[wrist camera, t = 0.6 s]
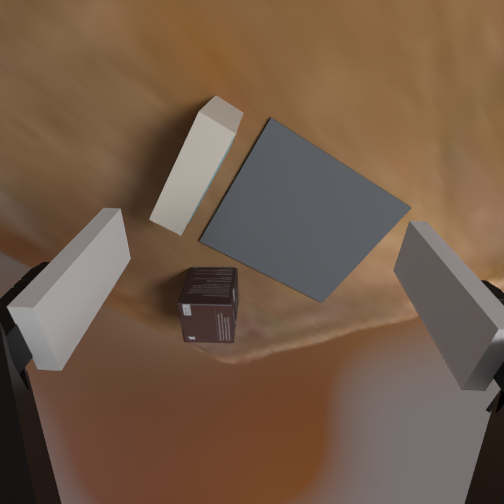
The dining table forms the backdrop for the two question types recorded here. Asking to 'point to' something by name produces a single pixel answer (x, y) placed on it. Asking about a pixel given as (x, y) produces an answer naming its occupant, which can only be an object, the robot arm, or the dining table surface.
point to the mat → (301, 214)
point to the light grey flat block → (197, 164)
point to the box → (209, 305)
